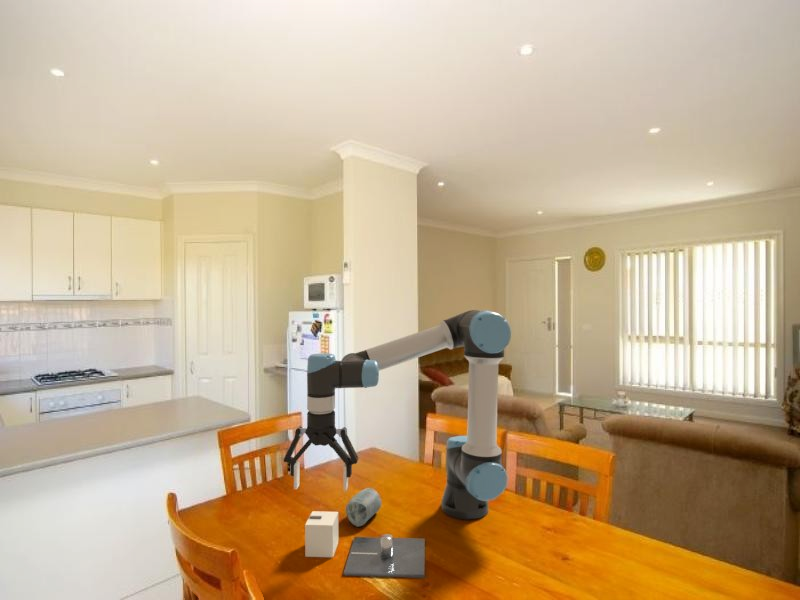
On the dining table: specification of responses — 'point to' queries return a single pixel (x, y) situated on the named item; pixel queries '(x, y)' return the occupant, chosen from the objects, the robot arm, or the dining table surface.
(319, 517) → the white drawer box
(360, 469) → the dining table surface
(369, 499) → the spool
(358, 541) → the gray board
